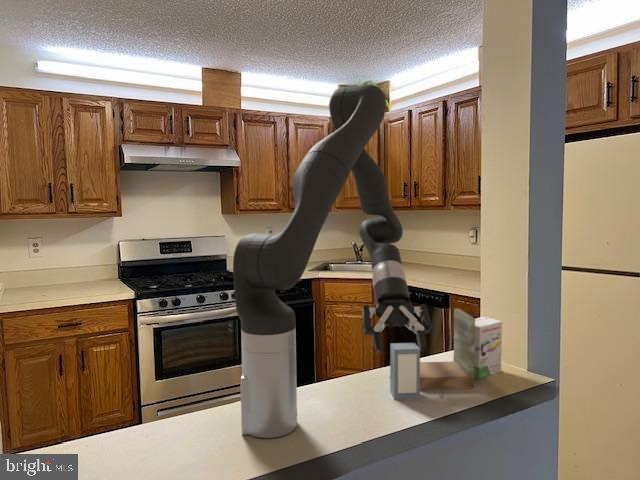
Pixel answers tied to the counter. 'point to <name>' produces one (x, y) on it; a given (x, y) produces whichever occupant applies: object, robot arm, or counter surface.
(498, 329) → the ink box
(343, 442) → the counter surface
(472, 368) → the bookend
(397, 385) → the grey block
